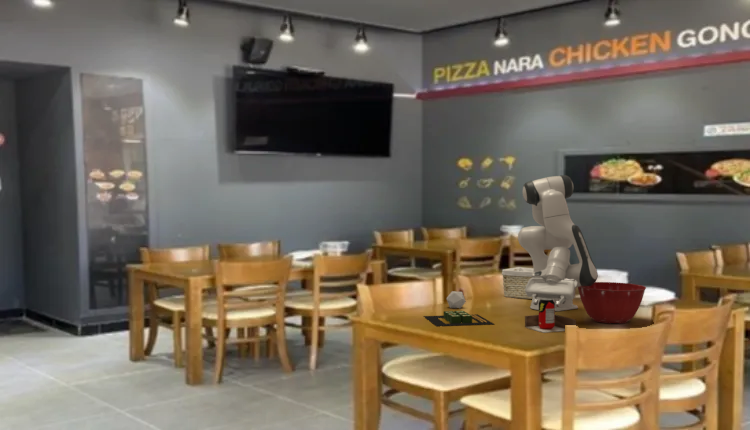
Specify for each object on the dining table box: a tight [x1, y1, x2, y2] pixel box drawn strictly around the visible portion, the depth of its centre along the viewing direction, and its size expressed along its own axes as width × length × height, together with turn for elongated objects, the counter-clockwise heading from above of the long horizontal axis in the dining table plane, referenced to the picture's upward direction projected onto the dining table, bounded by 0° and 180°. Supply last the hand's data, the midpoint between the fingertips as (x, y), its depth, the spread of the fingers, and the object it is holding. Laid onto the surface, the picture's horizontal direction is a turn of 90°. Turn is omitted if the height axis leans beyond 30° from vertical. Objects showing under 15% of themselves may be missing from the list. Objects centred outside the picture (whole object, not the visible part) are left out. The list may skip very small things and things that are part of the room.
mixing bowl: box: [577, 281, 647, 324], centre depth 338 cm, size 28×28×16 cm
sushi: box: [422, 310, 496, 328], centre depth 341 cm, size 25×25×4 cm
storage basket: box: [501, 266, 534, 300], centre depth 410 cm, size 24×16×15 cm
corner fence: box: [524, 314, 577, 334], centre depth 320 cm, size 14×16×4 cm
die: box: [446, 290, 466, 309], centre depth 376 cm, size 8×9×10 cm
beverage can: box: [538, 298, 556, 329], centre depth 320 cm, size 6×6×12 cm
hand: (546, 305), depth 319 cm, fingers open, 8 cm apart
